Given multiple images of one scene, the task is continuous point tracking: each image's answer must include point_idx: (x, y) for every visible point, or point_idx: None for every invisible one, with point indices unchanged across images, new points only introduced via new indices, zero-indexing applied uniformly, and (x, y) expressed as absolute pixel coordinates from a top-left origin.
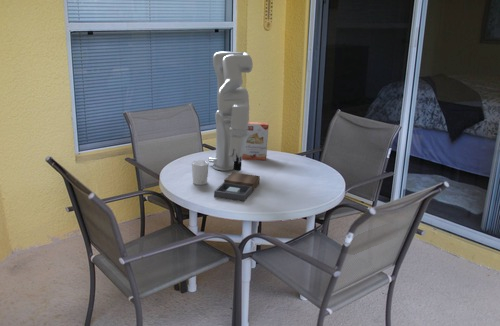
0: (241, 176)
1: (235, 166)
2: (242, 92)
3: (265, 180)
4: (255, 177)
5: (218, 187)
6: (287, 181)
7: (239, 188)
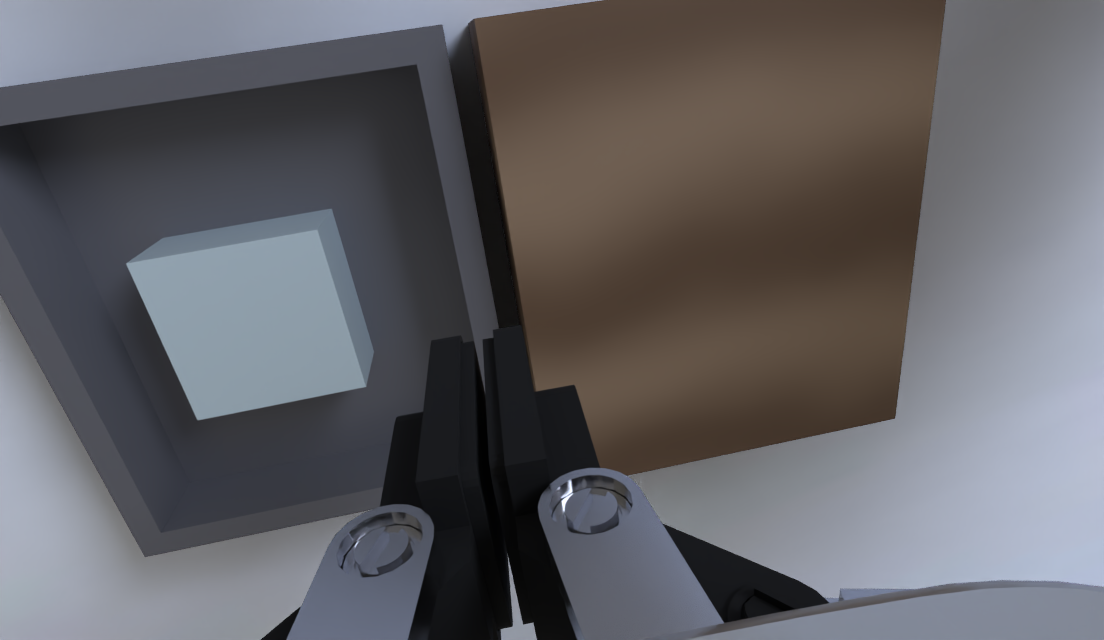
0: (784, 213)
1: (394, 471)
2: None
3: (963, 365)
4: (817, 401)
5: (122, 79)
6: (989, 538)
7: (349, 384)
